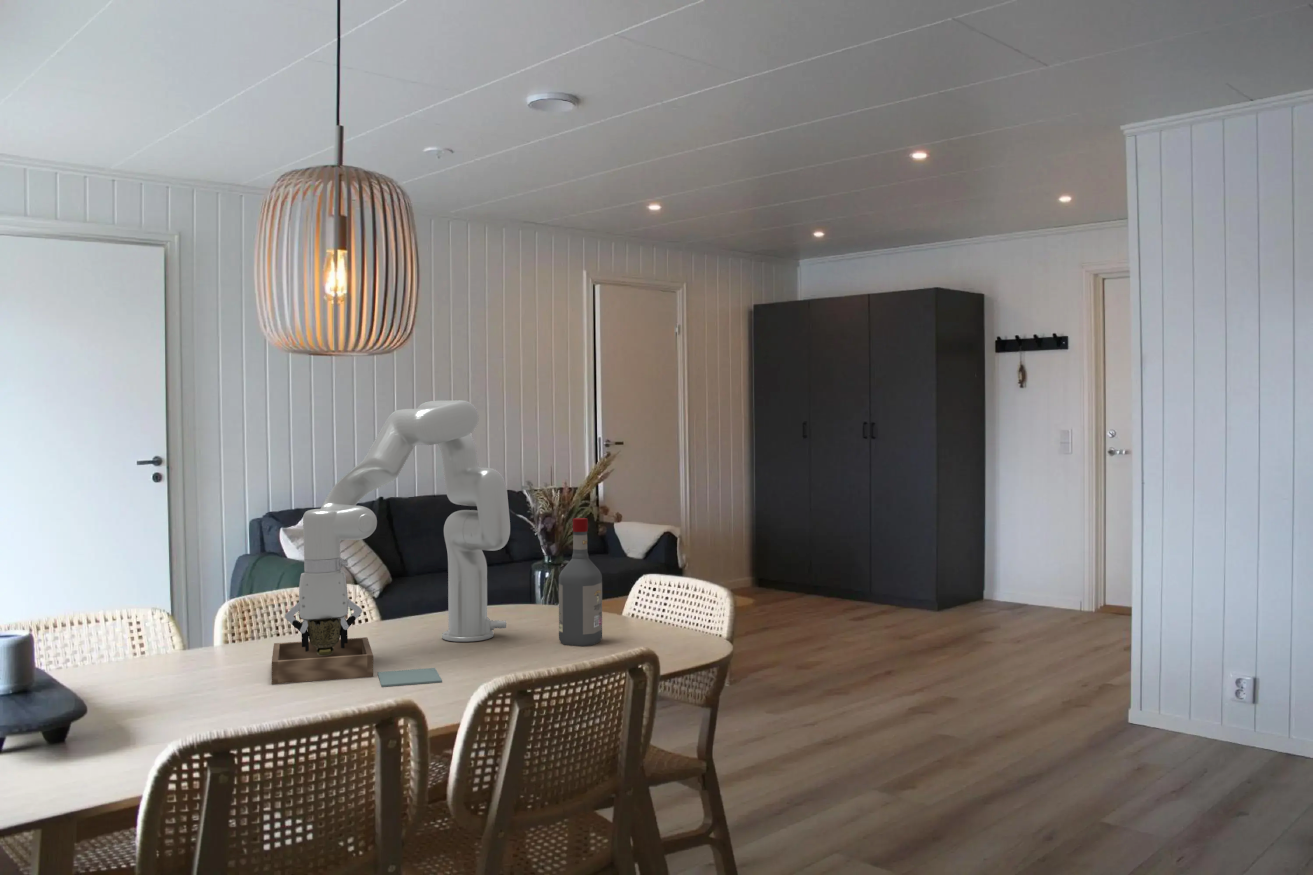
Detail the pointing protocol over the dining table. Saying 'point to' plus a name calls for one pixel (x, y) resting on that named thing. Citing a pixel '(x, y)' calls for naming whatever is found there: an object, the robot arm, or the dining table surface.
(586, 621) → the liquor
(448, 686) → the dining table surface
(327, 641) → the cup
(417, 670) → the mat
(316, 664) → the walnut box
